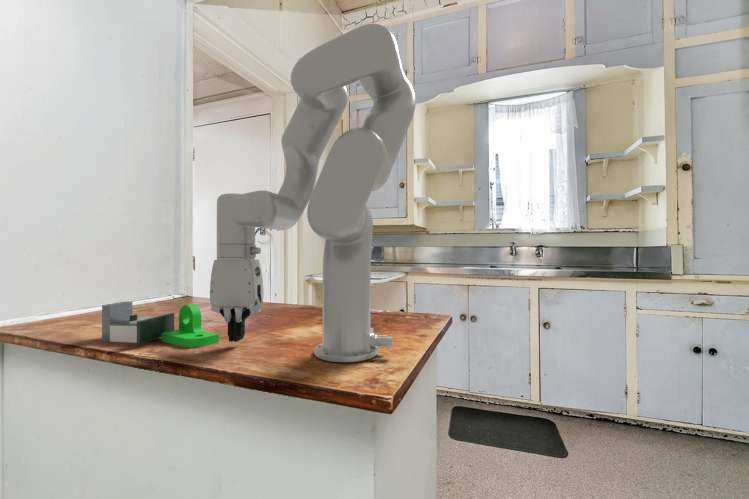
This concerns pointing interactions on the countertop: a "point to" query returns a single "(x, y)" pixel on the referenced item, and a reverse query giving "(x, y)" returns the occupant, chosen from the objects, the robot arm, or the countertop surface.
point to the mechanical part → (190, 330)
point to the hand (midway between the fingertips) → (236, 339)
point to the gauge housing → (118, 323)
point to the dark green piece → (152, 326)
